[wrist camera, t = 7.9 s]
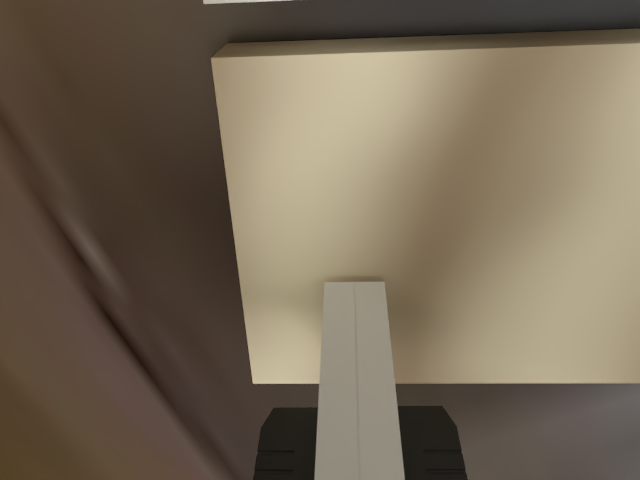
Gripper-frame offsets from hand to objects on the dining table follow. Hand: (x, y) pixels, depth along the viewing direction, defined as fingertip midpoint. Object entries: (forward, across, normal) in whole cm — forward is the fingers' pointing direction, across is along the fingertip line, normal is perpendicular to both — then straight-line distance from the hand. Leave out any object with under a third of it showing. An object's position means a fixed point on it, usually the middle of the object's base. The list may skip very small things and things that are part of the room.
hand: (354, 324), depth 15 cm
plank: (+2, -10, -2) cm, 11 cm away
